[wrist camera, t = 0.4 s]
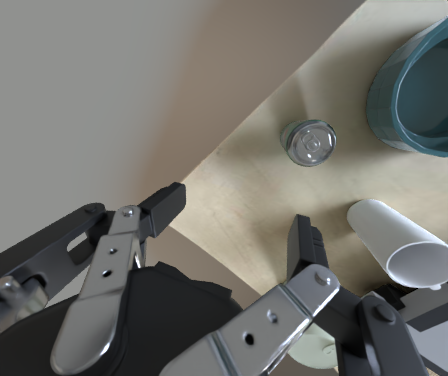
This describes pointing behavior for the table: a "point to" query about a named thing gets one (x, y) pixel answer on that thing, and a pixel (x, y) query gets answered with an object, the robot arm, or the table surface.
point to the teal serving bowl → (413, 94)
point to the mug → (400, 245)
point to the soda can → (308, 142)
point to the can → (315, 348)
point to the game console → (423, 321)
